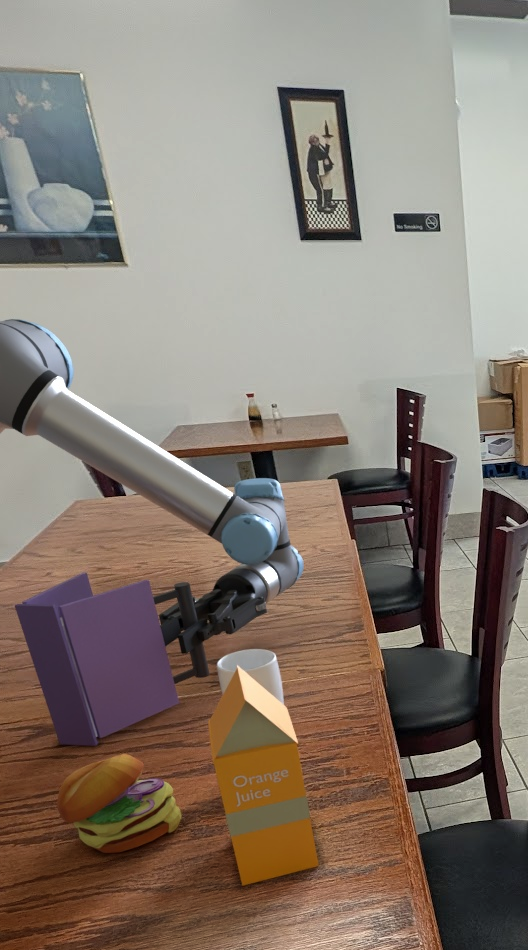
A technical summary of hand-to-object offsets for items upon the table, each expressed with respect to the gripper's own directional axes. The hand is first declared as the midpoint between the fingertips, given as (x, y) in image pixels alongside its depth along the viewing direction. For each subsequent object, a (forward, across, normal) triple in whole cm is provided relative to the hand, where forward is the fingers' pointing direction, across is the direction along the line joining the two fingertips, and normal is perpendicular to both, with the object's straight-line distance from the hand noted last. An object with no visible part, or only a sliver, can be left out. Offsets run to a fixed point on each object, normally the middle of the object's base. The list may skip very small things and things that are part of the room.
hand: (167, 643), depth 113 cm
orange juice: (+31, -28, -10) cm, 43 cm away
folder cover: (+2, +2, -10) cm, 10 cm away
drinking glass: (+15, -20, -10) cm, 27 cm away
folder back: (+5, +8, -10) cm, 14 cm away
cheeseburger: (+29, -10, -10) cm, 33 cm away
